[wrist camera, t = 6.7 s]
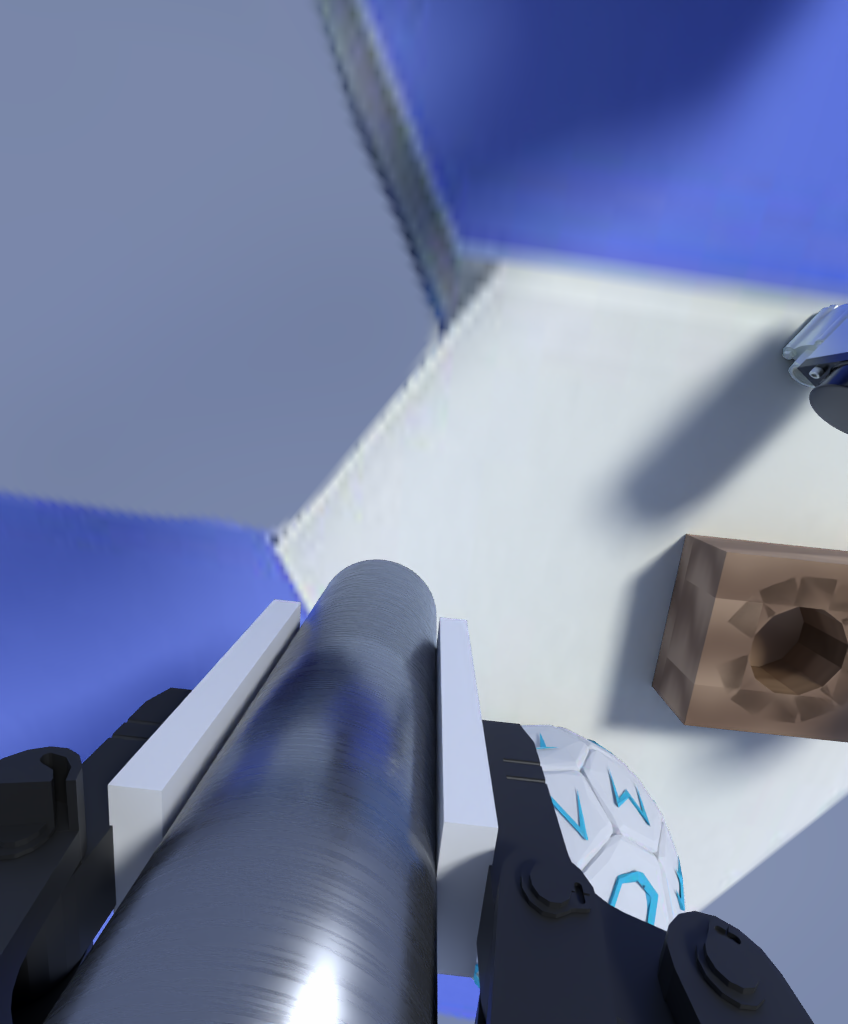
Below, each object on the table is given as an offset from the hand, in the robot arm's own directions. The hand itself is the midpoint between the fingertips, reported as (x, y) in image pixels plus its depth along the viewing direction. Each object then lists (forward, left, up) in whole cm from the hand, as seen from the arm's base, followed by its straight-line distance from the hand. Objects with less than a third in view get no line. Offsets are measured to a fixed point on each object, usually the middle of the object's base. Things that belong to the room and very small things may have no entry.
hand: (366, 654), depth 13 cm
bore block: (+5, +26, -20) cm, 33 cm away
